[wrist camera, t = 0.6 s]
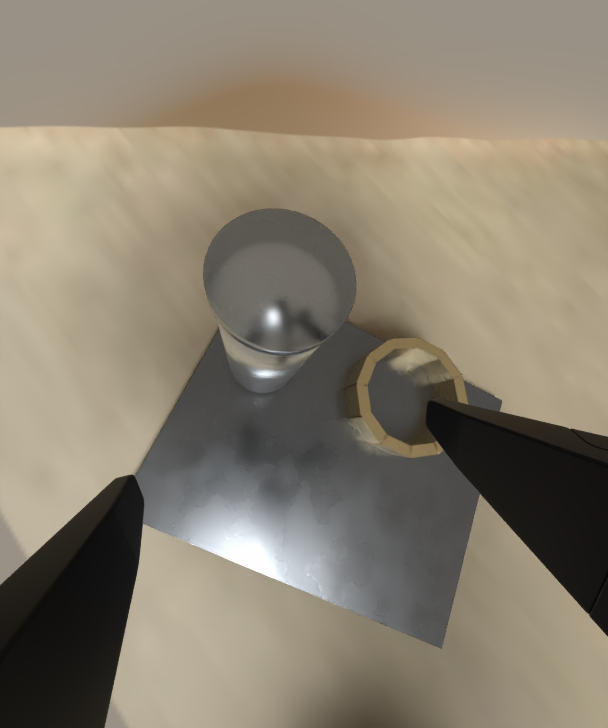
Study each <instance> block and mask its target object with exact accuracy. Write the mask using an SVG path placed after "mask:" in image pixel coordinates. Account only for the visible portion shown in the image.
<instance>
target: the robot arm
mask: <svg viewBox="0 0 608 728" xmlns="http://www.w3.org/2000/svg"><path fill="white" fill-rule="evenodd" d="M426 426H427V428H428V430H429V431H430V433H431V434H432V435H433V437H434V438H435V439H436V441H437V442H438V443H439V445H440V446H441V447H442V449H443V450H444V452H445V453H446V454H447V456H448V457H449V458H450V460H451V461H452V462H453V463H454V465H455V466H456V467H457V468H458V470H459V471H460V472H461V473H462V474H463V475H464V476H465V477H466V479H467V480H468V481H469V482H470V483H471V484H472V485H473V486H474V487H475V489H476V490H477V491H478V492H479V493H480V494H481V495H482V496H483V498H484V499H485V500H486V501H487V502H488V503H489V504H490V505H491V506H492V508H493V509H494V510H495V511H496V512H497V513H498V514H499V515H500V516H501V518H502V519H503V520H504V521H505V522H506V523H507V524H508V525H509V527H510V528H511V529H512V530H513V531H514V532H515V533H516V534H517V535H518V537H519V538H520V539H521V540H522V541H523V542H524V543H525V544H526V545H527V547H528V548H529V549H530V550H531V551H532V552H533V553H534V554H535V556H536V557H537V558H538V559H539V560H540V561H541V562H542V563H543V564H544V566H545V567H546V568H547V569H548V570H549V571H550V572H551V573H552V574H553V576H554V577H555V578H556V579H557V580H558V581H559V582H560V583H561V585H562V586H563V587H564V588H565V589H566V590H567V591H568V592H569V593H570V595H571V596H572V597H573V598H574V599H575V600H576V601H577V602H578V604H579V605H580V606H581V607H582V608H583V609H584V610H585V611H586V612H587V613H588V614H589V616H590V617H591V618H592V619H593V621H594V622H595V623H596V624H597V625H598V626H599V627H600V628H601V629H602V631H603V632H604V633H605V634H606V635H607V636H608V437H606V436H602V435H597V434H593V433H589V432H584V431H580V430H576V429H569V428H567V427H563V426H558V425H554V424H550V423H546V422H541V421H537V420H533V419H528V418H524V417H520V416H516V415H511V414H507V413H503V412H499V411H494V410H490V409H486V408H482V407H477V406H473V405H469V404H464V403H460V402H456V401H452V400H447V399H443V398H437V399H433V400H430V401H428V403H427V409H426ZM143 516H144V498H143V495H142V492H141V490H140V487H139V485H138V482H137V480H136V478H135V476H134V475H127V476H123V477H119V478H116V479H114V480H113V481H112V482H111V483H110V484H109V485H108V486H107V487H106V488H105V489H103V490H102V491H101V492H100V493H99V494H98V495H97V496H96V497H95V498H94V499H93V500H92V501H91V502H89V503H88V504H87V505H86V506H85V507H84V508H83V509H82V510H81V511H80V512H79V513H78V514H76V515H75V516H74V517H73V518H72V519H71V520H70V521H69V522H68V523H67V524H66V525H65V526H64V527H62V528H61V529H60V530H59V531H58V532H57V533H56V534H55V535H54V536H53V537H52V538H51V539H49V540H48V541H47V542H46V543H45V544H44V545H43V546H42V547H41V548H40V549H39V550H38V551H37V552H35V553H34V554H33V555H32V556H31V557H30V558H29V559H28V560H27V561H26V562H25V563H24V564H22V565H21V566H20V567H19V568H18V569H17V570H16V571H15V572H14V573H13V574H12V575H11V576H10V577H8V578H7V579H6V580H5V581H4V582H3V583H2V584H1V585H0V728H104V727H105V723H106V718H107V714H108V709H109V704H110V699H111V695H112V690H113V685H114V680H115V676H116V671H117V666H118V661H119V656H120V652H121V647H122V642H123V637H124V633H125V628H126V623H127V618H128V614H129V609H130V604H131V599H132V595H133V590H134V585H135V580H136V576H137V570H138V565H139V557H140V547H141V537H142V526H143Z"/></svg>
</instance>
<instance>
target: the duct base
mask: <svg viewBox="0 0 608 728" xmlns="http://www.w3.org/2000/svg"><path fill="white" fill-rule="evenodd" d="M461 375H462V374H461V373H460V372H459V370H458V369H457V368H456V366H455V365H454V363H453V362H452V361H451V359H450V358H449V357H448V355H447V354H446V353H445V351H444V352H443V350H442V349H440V348H438V347H436V346H434V345H432V344H430V343H428V342H426V341H424V340H422V339H420V338H397V339H389V340H388V341H386V342H385V341H383V340H381V339H379V338H377V337H375V336H373V335H371V334H369V333H367V332H365V331H363V330H361V329H359V328H357V327H355V326H353V325H351V324H349V323H347V322H344V323H343V324H342V326H341V327H340V328H339V329H338V330H337V331H336V332H335V333H334V334H333V335H332V336H331V337H330V338H329V339H328V340H327V341H326V342H324V343H323V344H322V345H320V346H319V347H318V348H317V349H316V351H315V352H314V353H313V354H312V355H311V356H310V357H309V358H308V360H307V361H306V362H305V363H304V364H303V365H302V366H301V368H300V369H299V370H298V371H297V372H296V373H295V374H294V375H293V377H292V378H291V379H290V380H289V381H288V382H287V383H286V384H285V385H284V386H283V387H281V388H280V389H278V390H276V391H273V392H269V393H256V392H252V391H250V390H247V389H246V388H244V387H243V386H241V385H240V384H239V383H238V382H237V381H236V380H235V378H234V376H233V375H232V372H231V370H230V366H229V362H228V359H227V355H226V351H225V348H224V344H223V340H222V337H221V333H220V329H219V330H218V332H217V334H216V335H215V337H214V339H213V341H212V342H211V344H210V346H209V348H208V349H207V351H206V353H205V355H204V357H203V358H202V360H201V362H200V364H199V365H198V367H197V369H196V371H195V372H194V374H193V376H192V378H191V379H190V381H189V383H188V385H187V386H186V388H185V390H184V392H183V393H182V395H181V397H180V399H179V401H178V402H177V404H176V406H175V408H174V409H173V411H172V413H171V415H170V416H169V418H168V420H167V422H166V423H165V425H164V427H163V429H162V430H161V432H160V434H159V436H158V437H157V439H156V441H155V443H154V445H153V446H152V448H151V450H150V452H149V453H148V455H147V457H146V459H145V460H144V462H143V464H142V466H141V467H140V469H139V471H138V473H137V474H136V476H135V478H136V480H137V482H138V485H139V487H140V490H141V492H142V495H143V498H144V516H143V524H145V525H147V526H150V527H152V528H155V529H157V530H159V531H162V532H164V533H166V534H169V535H171V536H174V537H176V538H178V539H181V540H183V541H186V542H188V543H190V544H193V545H195V546H198V547H200V548H202V549H205V550H207V551H209V552H212V553H214V554H217V555H219V556H221V557H224V558H226V559H229V560H231V561H233V562H236V563H238V564H241V565H243V566H245V567H248V568H250V569H252V570H255V571H257V572H260V573H262V574H264V575H267V576H269V577H272V578H274V579H276V580H279V581H281V582H284V583H286V584H288V585H291V586H293V587H295V588H298V589H300V590H303V591H305V592H307V593H310V594H312V595H315V596H317V597H319V598H322V599H324V600H326V601H329V602H331V603H334V604H336V605H338V606H341V607H343V608H346V609H348V610H350V611H353V612H355V613H358V614H360V615H362V616H365V617H367V618H369V619H372V620H374V621H377V622H379V623H381V624H384V625H386V626H389V627H391V628H393V629H396V630H398V631H401V632H403V633H405V634H408V635H410V636H412V637H415V638H417V639H420V640H422V641H424V642H427V643H429V644H432V645H434V646H436V647H439V648H441V649H442V645H443V641H444V637H445V633H446V629H447V625H448V620H449V616H450V612H451V608H452V604H453V600H454V596H455V592H456V588H457V584H458V580H459V576H460V571H461V567H462V563H463V559H464V555H465V551H466V547H467V543H468V539H469V535H470V531H471V526H472V522H473V518H474V514H475V510H476V506H477V502H478V498H479V494H480V493H479V492H478V491H477V490H476V489H475V487H474V486H473V485H472V484H471V483H470V482H469V481H468V480H467V479H466V477H465V476H464V475H463V474H462V473H461V472H460V471H459V470H458V468H457V467H456V466H455V465H454V463H453V462H452V461H451V460H450V458H449V457H448V456H447V454H446V453H445V452H444V450H443V449H442V447H441V446H440V445H439V443H438V442H437V441H436V439H435V438H434V437H433V435H432V434H431V433H430V431H429V430H428V428H427V426H426V409H427V403H428V401H430V400H433V399H437V398H443V399H447V400H452V401H456V402H460V403H464V404H469V405H473V406H477V407H482V408H486V409H490V410H494V411H499V412H500V408H501V404H502V400H500V399H498V398H496V397H494V396H492V395H490V394H488V393H486V392H484V391H482V390H480V389H478V388H476V387H474V386H472V385H470V384H468V383H466V382H464V381H463V376H461Z"/></svg>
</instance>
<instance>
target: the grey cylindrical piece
mask: <svg viewBox="0 0 608 728" xmlns="http://www.w3.org/2000/svg"><path fill="white" fill-rule="evenodd" d="M203 278H204V286H205V290H206V294H207V297H208V301H209V304H210V307H211V309H212V311H213V314H214V316H215V317H216V319H217V322H218V326H219V329H220V333H221V337H222V340H223V344H224V348H225V351H226V355H227V359H228V362H229V366H230V370H231V372H232V375H233V376H234V378H235V380H236V381H237V382H238V383H239V384H240V385H241V386H243V387H244V388H246V389H247V390H250V391H252V392H256V393H269V392H273V391H276V390H278V389H280V388H281V387H283V386H284V385H285V384H286V383H287V382H288V381H289V380H290V379H291V378H292V377H293V375H294V374H295V373H296V372H297V371H298V370H299V369H300V368H301V366H302V365H303V364H304V363H305V362H306V361H307V360H308V358H309V357H310V356H311V355H312V354H313V353H314V352H315V351H316V349H317V348H318V347H319V346H320V345H322V344H323V343H324V342H326V341H327V340H328V339H329V338H330V337H331V336H332V335H333V334H334V333H335V332H336V331H337V330H338V329H339V328H340V327H341V326H342V324H343V323H344V322H345V320H346V319H347V317H348V315H349V313H350V311H351V309H352V306H353V303H354V300H355V295H356V275H355V271H354V266H353V264H352V261H351V258H350V256H349V254H348V252H347V250H346V249H345V247H344V246H343V244H342V243H341V241H340V240H339V239H338V238H337V237H336V235H335V234H333V233H332V232H331V231H330V230H329V229H328V228H327V227H325V226H324V225H323V224H321V223H320V222H318V221H316V220H315V219H313V218H311V217H309V216H307V215H304V214H301V213H298V212H295V211H290V210H285V209H262V210H256V211H252V212H249V213H246V214H244V215H241V216H239V217H237V218H235V219H234V220H232V221H231V222H229V223H228V224H227V225H225V226H224V227H223V228H222V229H221V230H220V231H219V232H218V234H217V235H216V236H215V238H214V239H213V240H212V242H211V244H210V246H209V248H208V251H207V253H206V256H205V261H204V268H203Z"/></svg>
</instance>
